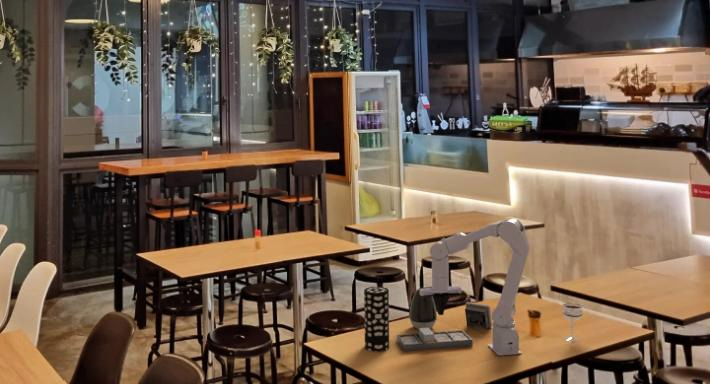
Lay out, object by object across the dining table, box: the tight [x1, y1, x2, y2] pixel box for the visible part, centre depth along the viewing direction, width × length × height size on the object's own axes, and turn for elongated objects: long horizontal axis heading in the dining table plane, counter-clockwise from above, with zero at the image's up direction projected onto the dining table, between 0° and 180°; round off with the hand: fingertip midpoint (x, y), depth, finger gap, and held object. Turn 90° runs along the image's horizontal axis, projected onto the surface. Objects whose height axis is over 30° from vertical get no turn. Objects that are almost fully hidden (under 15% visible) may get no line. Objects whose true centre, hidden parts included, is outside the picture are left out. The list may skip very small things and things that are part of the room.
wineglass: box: [562, 302, 584, 343], centre depth 215 cm, size 7×7×12 cm
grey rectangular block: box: [418, 328, 434, 343], centre depth 212 cm, size 7×4×4 cm, turn 9°
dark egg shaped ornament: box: [408, 287, 438, 330], centre depth 229 cm, size 10×10×15 cm
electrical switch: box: [464, 301, 493, 331], centre depth 229 cm, size 9×5×9 cm, turn 57°
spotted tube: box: [363, 286, 390, 352], centre depth 210 cm, size 8×8×20 cm
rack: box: [396, 329, 474, 353], centre depth 213 cm, size 10×24×2 cm, turn 100°
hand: (440, 314), depth 215 cm, fingers closed
